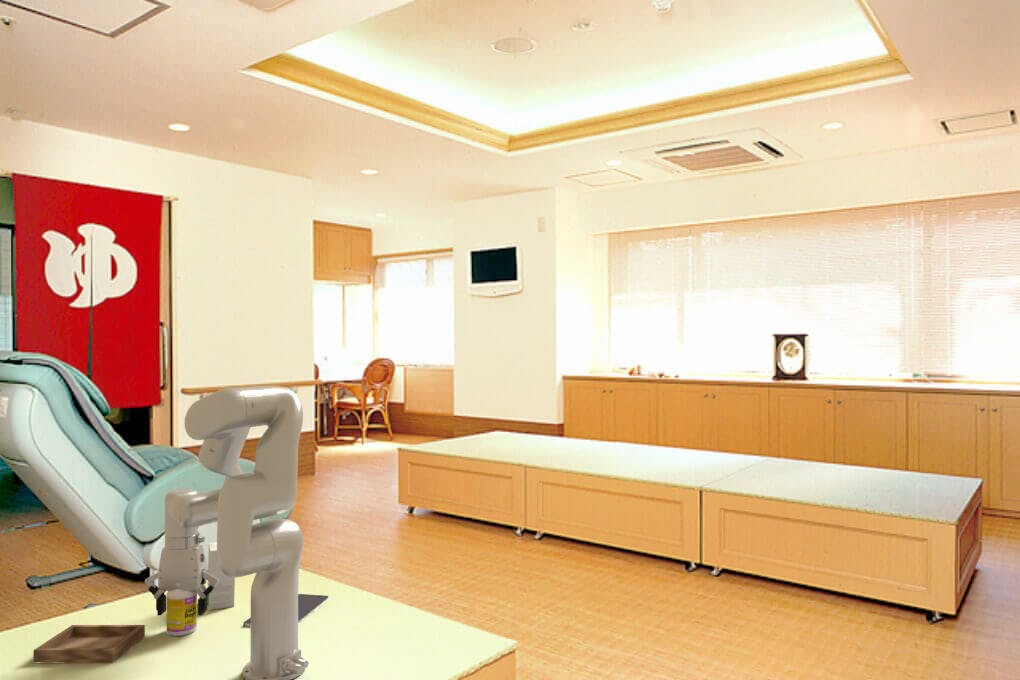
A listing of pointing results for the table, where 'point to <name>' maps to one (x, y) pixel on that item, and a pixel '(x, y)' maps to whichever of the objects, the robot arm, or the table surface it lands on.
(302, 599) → the notebook
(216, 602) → the skincare box
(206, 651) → the table surface
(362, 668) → the table surface
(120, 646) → the holder tray
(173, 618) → the supplement bottle
